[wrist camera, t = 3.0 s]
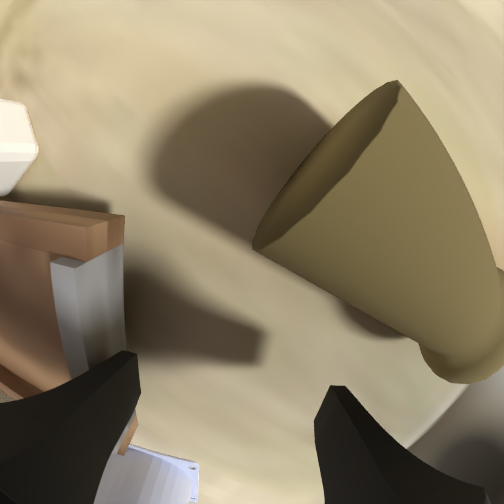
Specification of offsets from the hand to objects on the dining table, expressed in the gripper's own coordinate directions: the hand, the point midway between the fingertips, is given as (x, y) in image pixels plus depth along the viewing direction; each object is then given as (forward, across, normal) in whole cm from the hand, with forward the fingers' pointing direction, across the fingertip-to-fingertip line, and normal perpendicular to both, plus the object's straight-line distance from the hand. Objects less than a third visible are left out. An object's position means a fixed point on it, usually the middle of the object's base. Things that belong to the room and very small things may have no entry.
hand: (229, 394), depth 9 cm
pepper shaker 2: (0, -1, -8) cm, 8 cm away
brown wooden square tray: (+3, +10, 0) cm, 11 cm away
